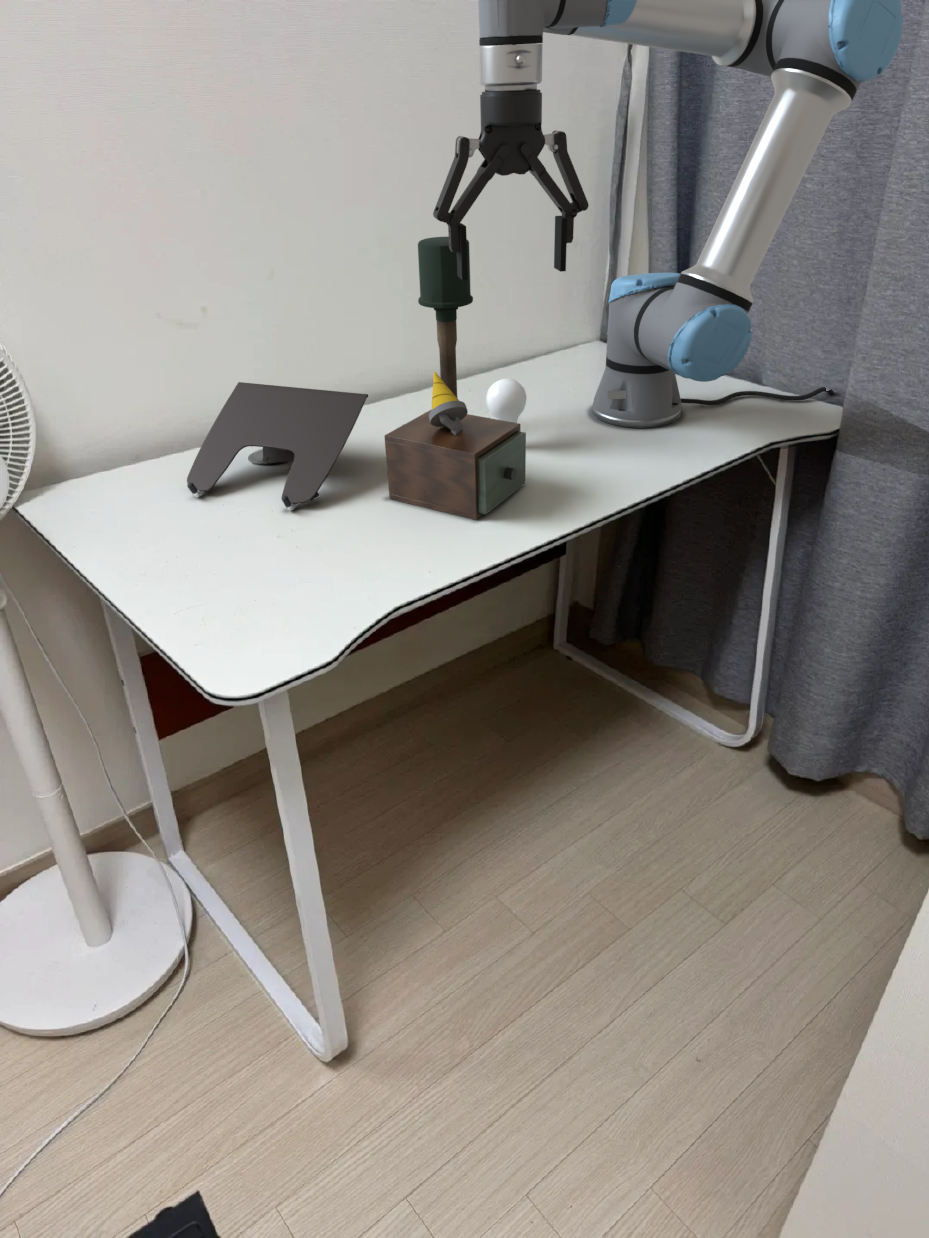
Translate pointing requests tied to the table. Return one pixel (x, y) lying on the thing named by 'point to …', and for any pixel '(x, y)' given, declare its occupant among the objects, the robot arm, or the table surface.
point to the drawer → (501, 471)
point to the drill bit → (446, 407)
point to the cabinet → (441, 462)
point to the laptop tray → (279, 435)
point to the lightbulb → (506, 400)
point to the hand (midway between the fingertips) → (511, 274)
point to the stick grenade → (443, 298)
